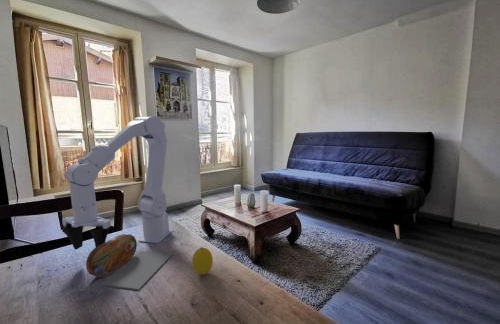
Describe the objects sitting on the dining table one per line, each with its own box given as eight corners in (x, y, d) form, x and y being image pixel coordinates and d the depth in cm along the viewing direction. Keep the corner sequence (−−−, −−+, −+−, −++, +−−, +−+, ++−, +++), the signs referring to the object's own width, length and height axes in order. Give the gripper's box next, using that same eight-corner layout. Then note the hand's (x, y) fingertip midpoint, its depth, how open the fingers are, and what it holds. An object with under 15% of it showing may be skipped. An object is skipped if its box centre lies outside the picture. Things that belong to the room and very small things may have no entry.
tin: (94, 284, 63) (90, 254, 62) (85, 281, 64) (82, 252, 63) (138, 255, 77) (136, 230, 76) (131, 253, 78) (128, 229, 77)
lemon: (188, 274, 66) (187, 247, 65) (205, 266, 71) (204, 240, 69) (200, 283, 63) (199, 255, 62) (217, 274, 67) (216, 247, 66)
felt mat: (141, 251, 79) (141, 250, 79) (172, 254, 77) (172, 253, 77) (100, 285, 62) (100, 284, 62) (138, 290, 60) (138, 289, 60)
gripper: (49, 208, 67) (56, 253, 69) (94, 211, 64) (100, 258, 66) (72, 200, 73) (77, 241, 76) (114, 202, 71) (118, 245, 73)
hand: (89, 248), depth 71 cm, fingers open, 7 cm apart
